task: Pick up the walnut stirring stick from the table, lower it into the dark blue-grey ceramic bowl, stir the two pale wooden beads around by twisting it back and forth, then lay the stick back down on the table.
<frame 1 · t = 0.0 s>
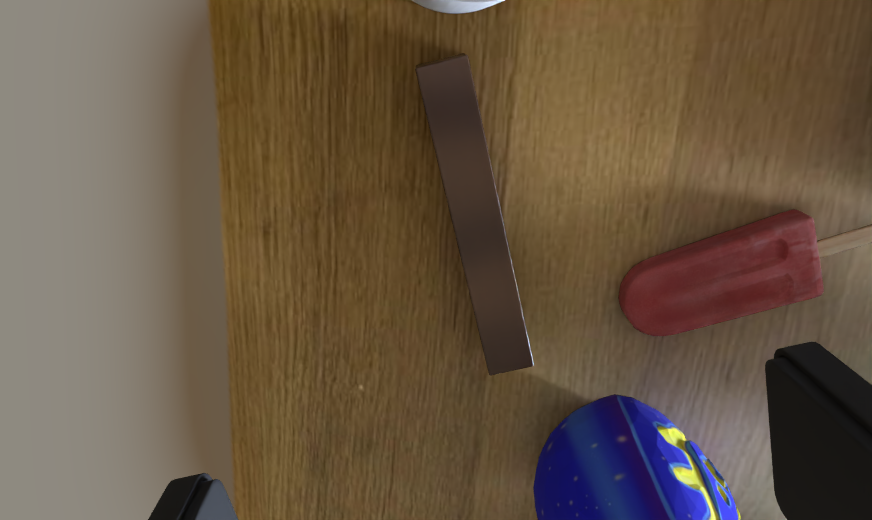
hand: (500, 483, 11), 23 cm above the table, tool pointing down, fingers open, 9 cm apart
ornament: (603, 441, 38), on the table
stick: (475, 216, 33), on the table
popsicle: (753, 259, 34), on the table
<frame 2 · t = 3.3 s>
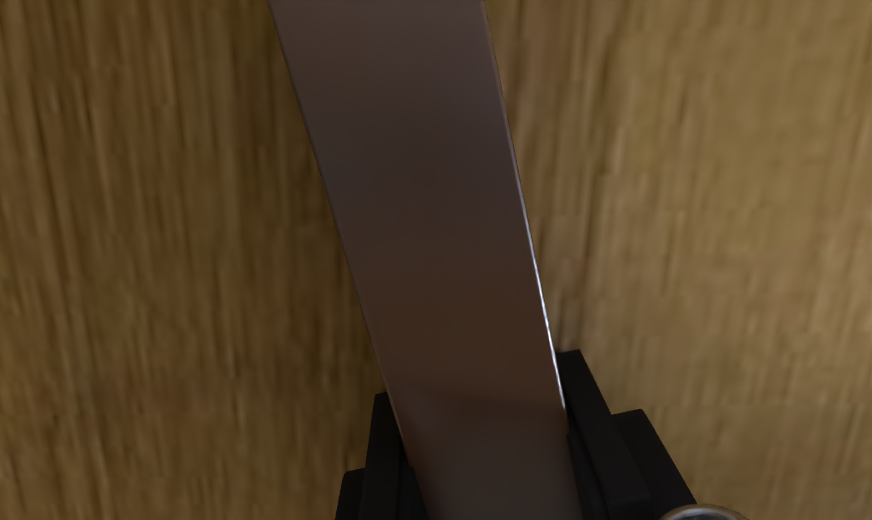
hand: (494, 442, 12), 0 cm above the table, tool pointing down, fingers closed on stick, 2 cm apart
stick: (493, 436, 12), on the table, touching gripper
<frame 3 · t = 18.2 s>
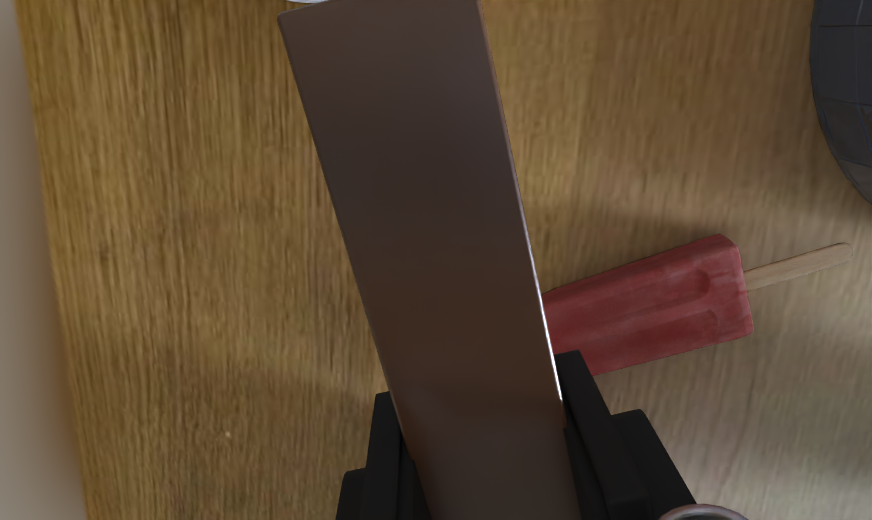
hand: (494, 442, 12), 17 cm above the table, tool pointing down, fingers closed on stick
stick: (495, 440, 12), point 17 cm above the table, touching gripper
popsicle: (674, 291, 30), on the table
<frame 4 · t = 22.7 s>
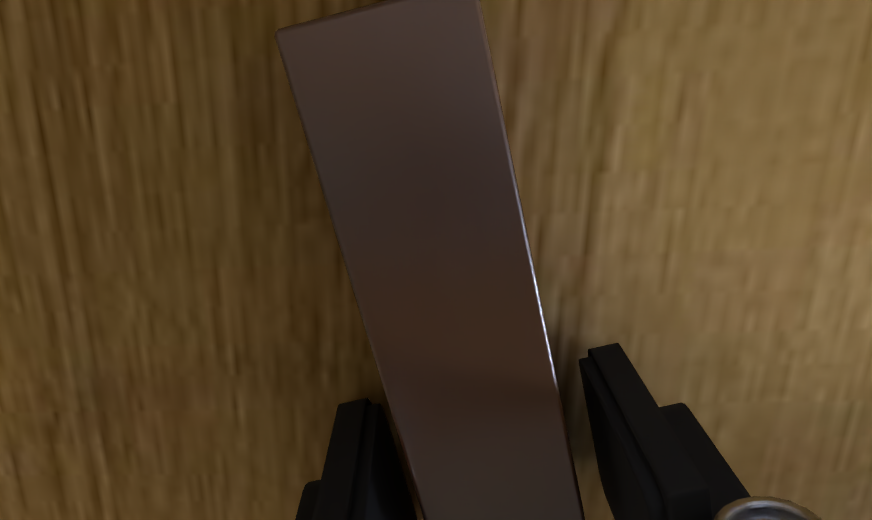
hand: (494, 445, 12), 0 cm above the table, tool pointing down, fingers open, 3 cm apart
stick: (494, 449, 12), on the table
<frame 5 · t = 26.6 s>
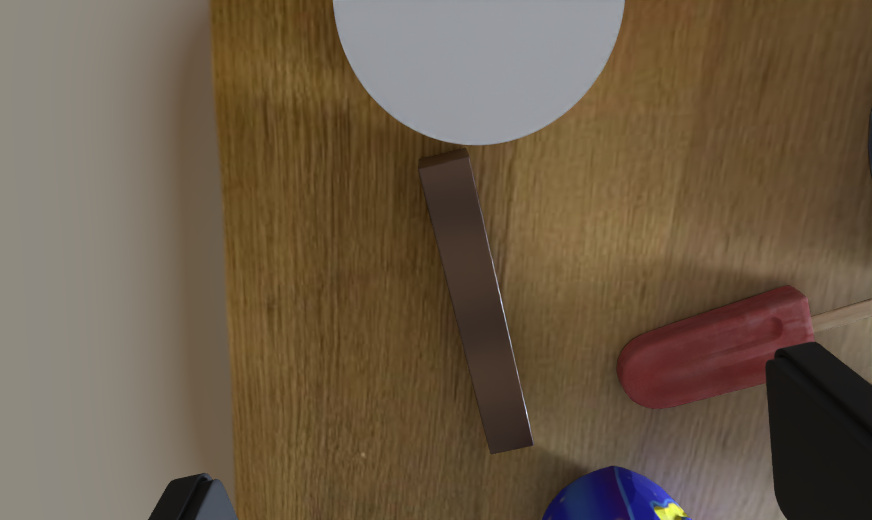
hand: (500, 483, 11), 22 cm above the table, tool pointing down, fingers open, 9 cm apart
ornament: (602, 504, 39), on the table
cup: (457, 11, 29), on the table
stick: (477, 299, 34), on the table
popsicle: (748, 331, 35), on the table
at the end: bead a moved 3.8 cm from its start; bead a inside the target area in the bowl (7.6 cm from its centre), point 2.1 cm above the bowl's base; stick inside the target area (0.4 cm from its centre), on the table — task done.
